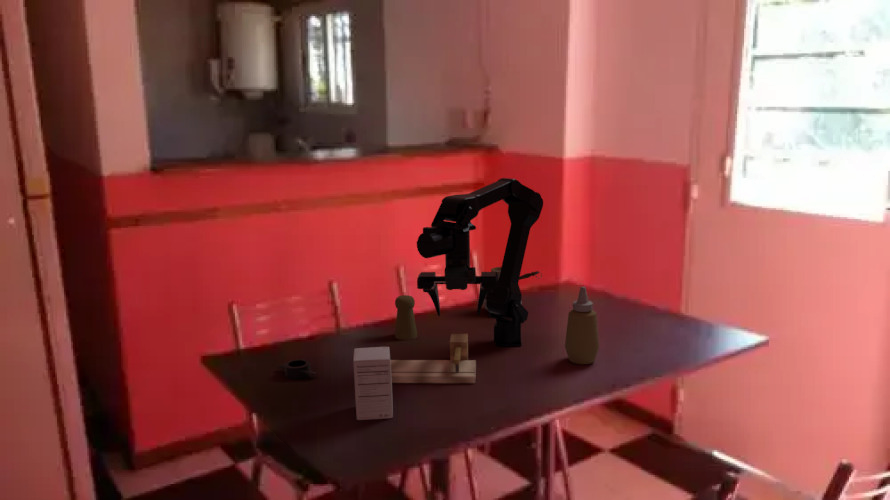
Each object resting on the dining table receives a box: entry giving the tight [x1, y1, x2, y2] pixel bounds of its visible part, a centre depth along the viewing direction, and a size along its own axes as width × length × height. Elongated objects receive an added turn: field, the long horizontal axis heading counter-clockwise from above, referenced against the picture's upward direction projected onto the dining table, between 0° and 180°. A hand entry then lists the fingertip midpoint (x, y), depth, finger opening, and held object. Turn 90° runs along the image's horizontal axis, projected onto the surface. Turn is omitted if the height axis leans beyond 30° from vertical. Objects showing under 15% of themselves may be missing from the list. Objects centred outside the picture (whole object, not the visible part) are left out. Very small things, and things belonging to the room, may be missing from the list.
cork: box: [394, 294, 418, 341], centre depth 191 cm, size 6×6×11 cm
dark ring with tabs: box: [277, 358, 319, 380], centre depth 167 cm, size 8×10×3 cm
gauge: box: [449, 333, 469, 372], centre depth 168 cm, size 4×15×6 cm, turn 176°
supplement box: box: [352, 346, 394, 421], centre depth 145 cm, size 7×7×13 cm
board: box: [390, 359, 477, 384], centre depth 165 cm, size 22×10×2 cm, turn 86°
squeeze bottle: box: [564, 286, 600, 365], centre depth 170 cm, size 8×8×18 cm
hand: (458, 315), depth 170 cm, fingers open, 9 cm apart
